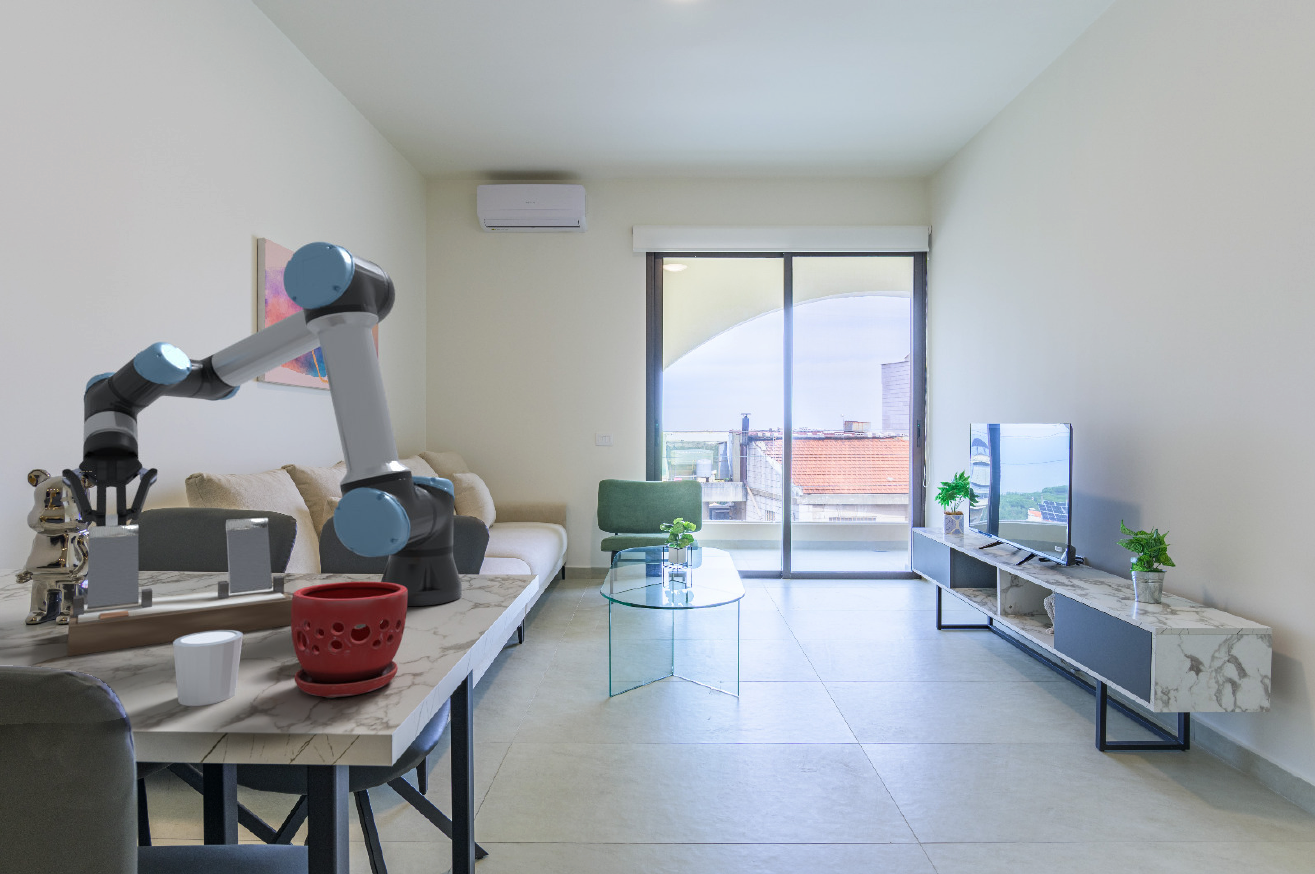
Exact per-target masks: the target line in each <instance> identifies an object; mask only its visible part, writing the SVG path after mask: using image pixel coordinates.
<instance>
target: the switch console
mask: <svg viewBox="0 0 1315 874" xmlns="http://www.w3.org/2000/svg"><path fill="white" fill-rule="evenodd" d="M272 577H273V578H272V588H271V589H268V590H259V591H250V592H241V593H232V594H230V591H229V581H227V580H221V581H217V590H212V591H201V592H192V593H182V594H173V595H165V596H164V595H163V596H155V597H153V589H152V588H151V587H148V588H141V598H139V602H138V604H131V605H122V606H113V607H104V608H95V609H87V604H85V594H78V595H77V594H76V595H73V599H72V601H73V602H72V603H73V604H72V605H73V606H70V608H69V618H68V633H67V635H68V640H67V656H68V657H71V656H79V655H88V654H93V653H102V652H108V651H114V650H120V649H122V650H123V649H129V648H138V647H143V646H150V645H157V644H162V643H163V644H165V643H171V642H172V643H173V642H174V641H175V640H176V639H178V638H180V637H183V636H186V635H190V634H194V633H199V632H206V631H216V630H233V631H240V632H241V633H243V632H249V631H257V630H263V629H265V630H266V629H271V628H278V627H285V626H291V606H292V597H293V596H290V595H289V594H288V593H287V592H285V576H283V575H273V576H272Z"/></svg>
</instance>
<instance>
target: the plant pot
mask: <svg viewBox="0 0 1315 874" xmlns="http://www.w3.org/2000/svg"><path fill="white" fill-rule="evenodd" d="M291 597H292V606H291V625H290V629H291V638H292V645H293V649H294V653H295V655H296V659H297V661H298V662H299V665H300V667H301V668H300V669H299V670H298V671H296V672H295V675H294V683H295V684H296V686H297V687H298V688H299V689H300V690H302V692H305V693H306V694H309V695H313V696H316V697H317V696H318V697H326V699H335V698H341V697H343V698H344V697H351V696H357V695H361V694H366V693H370V692H372V691H375V690H378V689H380V688H382V687H384V686H385V685H387V684H389V683H390V682H391V681H392V680H393V679H394V677H395V676H396V674H397V673H398V669H399V668H398V664H397V663H396V662H395V661H393V659H395V656H396V655H397V653H398V650H399V648H400V645H401V642H402V640H403V635H404V632H405V627H406V619H407V610H408V606H407V597H408V590H407V588H406V587H404V586H402V585H399V584H394V583H386V582H381V581H342V582H332V583H322V584H315V585H311V586H305V587H303V588H300V589H297V590H295V591H294V592H293V594H292V596H291ZM359 625H364V626H362V627H360V628H358V627H357V626H359Z"/></svg>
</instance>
